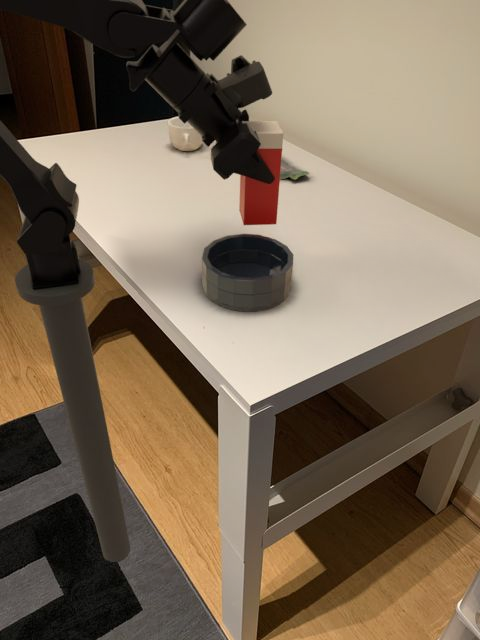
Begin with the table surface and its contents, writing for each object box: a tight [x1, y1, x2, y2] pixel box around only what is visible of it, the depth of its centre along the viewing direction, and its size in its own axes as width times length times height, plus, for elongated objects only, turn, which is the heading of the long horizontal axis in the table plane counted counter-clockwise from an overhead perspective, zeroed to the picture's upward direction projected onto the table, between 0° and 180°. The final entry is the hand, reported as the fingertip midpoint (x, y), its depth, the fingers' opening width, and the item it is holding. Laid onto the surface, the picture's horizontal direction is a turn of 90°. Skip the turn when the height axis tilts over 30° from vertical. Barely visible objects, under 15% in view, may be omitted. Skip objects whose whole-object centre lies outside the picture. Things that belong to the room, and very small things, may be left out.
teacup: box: [167, 116, 204, 152], centre depth 118 cm, size 10×8×5 cm
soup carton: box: [238, 120, 284, 226], centre depth 77 cm, size 5×5×13 cm
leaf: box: [280, 158, 311, 180], centre depth 115 cm, size 20×8×1 cm, turn 32°
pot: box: [201, 233, 294, 313], centre depth 78 cm, size 13×13×5 cm
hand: (269, 174), depth 78 cm, fingers closed on soup carton, 5 cm apart
